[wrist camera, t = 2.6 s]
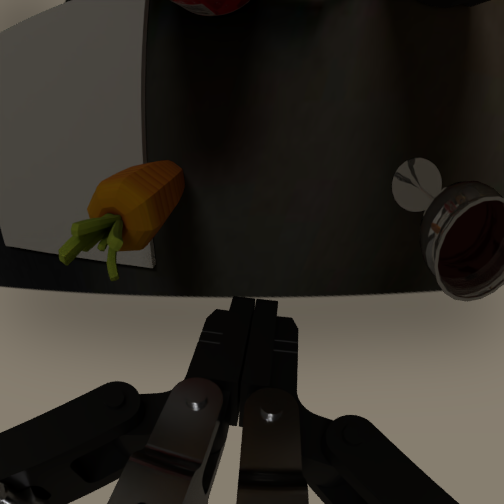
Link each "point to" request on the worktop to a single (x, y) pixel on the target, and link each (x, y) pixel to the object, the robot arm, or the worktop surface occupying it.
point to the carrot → (126, 211)
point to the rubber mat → (70, 118)
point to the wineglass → (455, 229)
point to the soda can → (211, 6)
